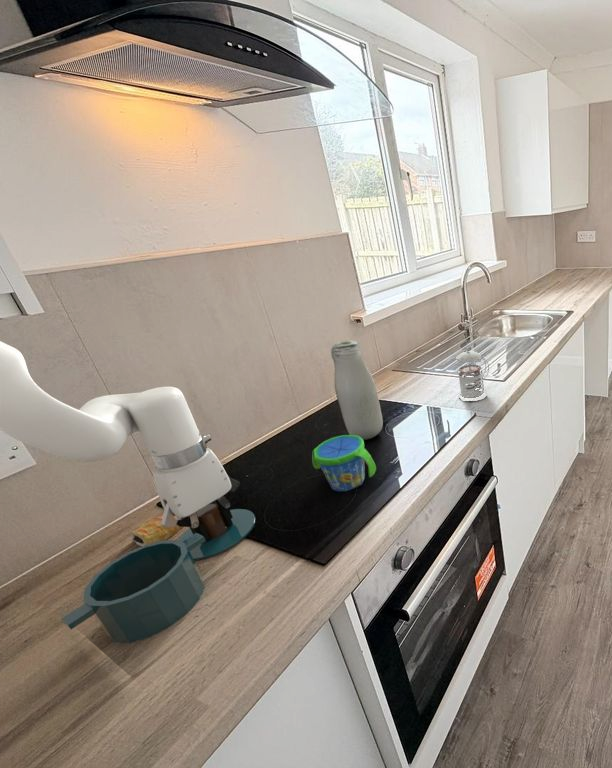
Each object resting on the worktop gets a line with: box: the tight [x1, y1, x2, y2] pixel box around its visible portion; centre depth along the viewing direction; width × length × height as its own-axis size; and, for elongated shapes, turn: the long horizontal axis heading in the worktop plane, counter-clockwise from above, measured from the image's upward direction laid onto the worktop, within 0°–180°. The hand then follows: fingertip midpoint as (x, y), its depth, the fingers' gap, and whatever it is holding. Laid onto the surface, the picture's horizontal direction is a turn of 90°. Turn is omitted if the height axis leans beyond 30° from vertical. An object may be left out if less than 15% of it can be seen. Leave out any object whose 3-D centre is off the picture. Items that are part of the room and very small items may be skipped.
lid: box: [177, 503, 257, 561], centre depth 81 cm, size 14×14×7 cm
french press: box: [455, 321, 490, 403], centre depth 132 cm, size 10×12×25 cm
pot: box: [60, 533, 206, 644], centre depth 66 cm, size 13×18×8 cm
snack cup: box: [311, 434, 377, 493], centre depth 94 cm, size 16×10×10 cm
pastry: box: [130, 515, 183, 547], centre depth 84 cm, size 9×7×4 cm
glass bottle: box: [330, 340, 384, 441], centre depth 110 cm, size 10×10×28 cm
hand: (215, 530), depth 82 cm, fingers closed on lid, 3 cm apart
